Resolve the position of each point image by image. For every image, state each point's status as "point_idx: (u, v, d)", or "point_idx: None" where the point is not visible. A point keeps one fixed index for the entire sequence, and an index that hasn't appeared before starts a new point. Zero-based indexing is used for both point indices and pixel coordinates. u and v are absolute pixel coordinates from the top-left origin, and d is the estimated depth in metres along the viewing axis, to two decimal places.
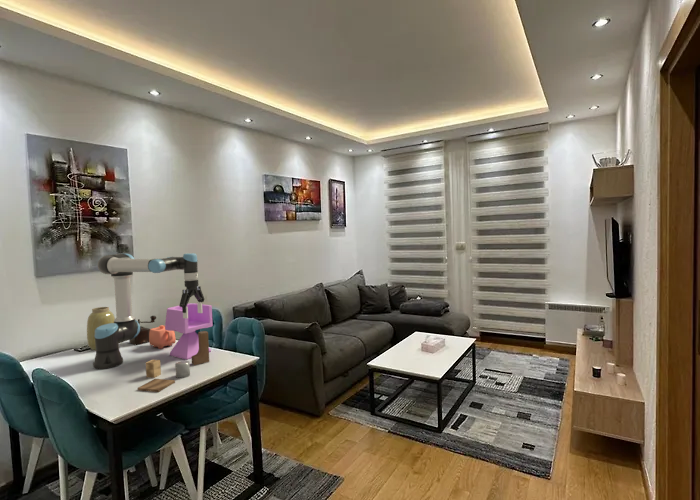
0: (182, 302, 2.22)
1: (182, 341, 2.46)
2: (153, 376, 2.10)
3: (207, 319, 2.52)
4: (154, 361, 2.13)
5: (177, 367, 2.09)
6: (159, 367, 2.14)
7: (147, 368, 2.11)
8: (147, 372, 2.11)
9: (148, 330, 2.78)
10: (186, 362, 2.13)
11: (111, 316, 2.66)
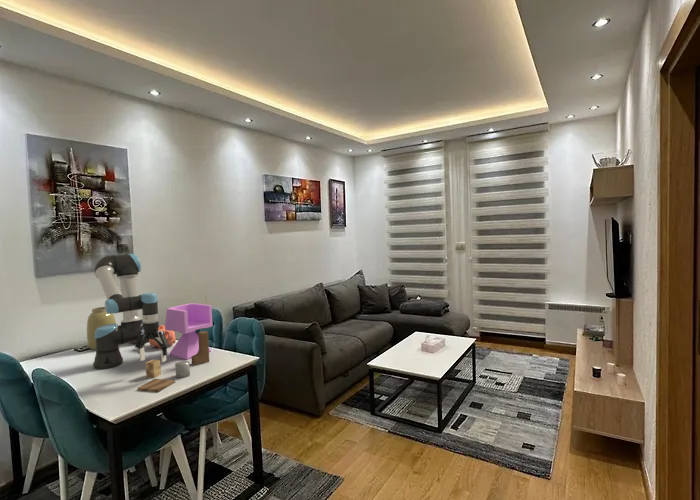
0: None
1: (182, 341, 2.46)
2: (153, 376, 2.10)
3: (207, 319, 2.52)
4: (154, 361, 2.13)
5: (177, 367, 2.09)
6: (159, 367, 2.14)
7: (147, 368, 2.11)
8: (147, 372, 2.11)
9: None
10: (186, 362, 2.13)
11: (111, 316, 2.66)
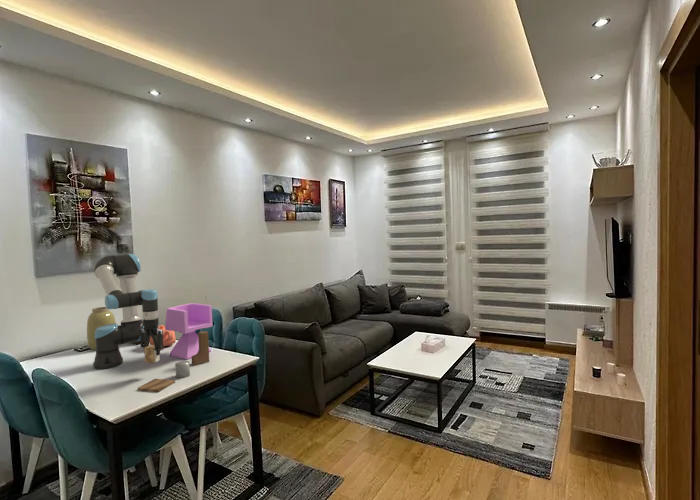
0: None
1: (182, 341, 2.46)
2: (152, 361, 2.10)
3: (207, 319, 2.52)
4: (153, 346, 2.12)
5: (177, 367, 2.09)
6: None
7: (146, 353, 2.11)
8: (146, 357, 2.11)
9: None
10: (186, 362, 2.13)
11: (111, 316, 2.66)
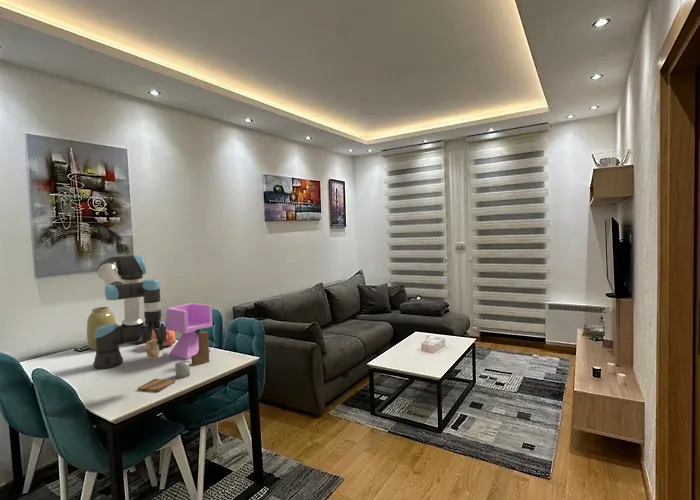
0: None
1: (182, 341, 2.46)
2: (154, 356, 1.95)
3: (207, 319, 2.52)
4: (155, 340, 1.97)
5: (177, 367, 2.09)
6: None
7: (148, 348, 1.95)
8: (148, 352, 1.96)
9: None
10: (186, 362, 2.13)
11: (111, 316, 2.66)
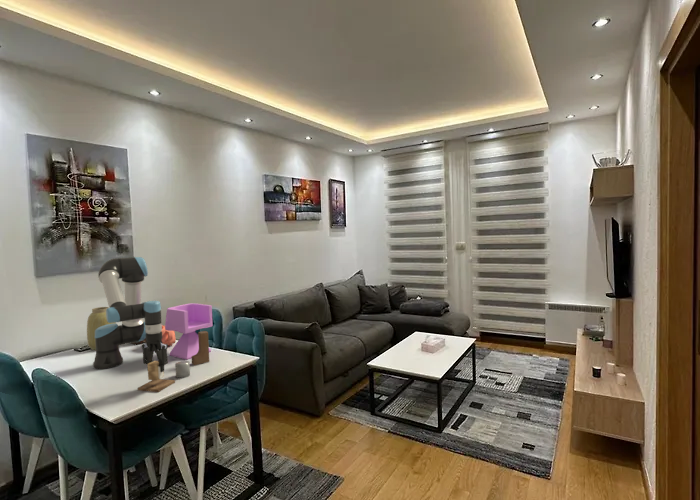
0: None
1: (182, 341, 2.46)
2: (155, 378, 1.95)
3: (207, 319, 2.52)
4: (157, 362, 1.98)
5: (177, 367, 2.09)
6: None
7: (149, 370, 1.96)
8: (149, 374, 1.96)
9: None
10: (186, 362, 2.13)
11: None
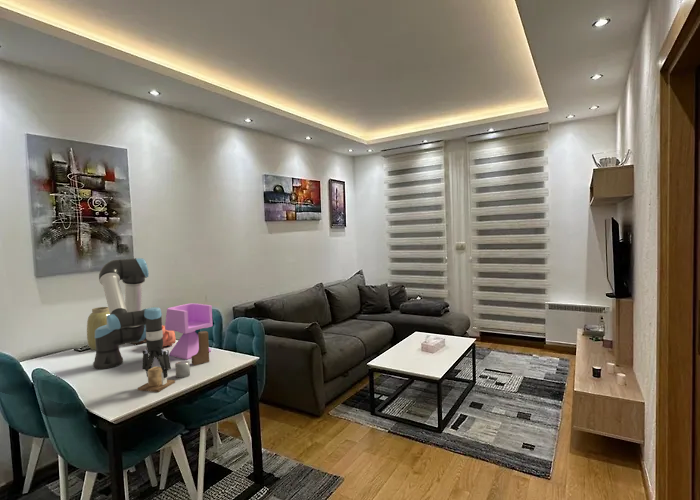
0: None
1: (182, 341, 2.46)
2: (156, 384, 1.96)
3: (207, 319, 2.52)
4: (157, 368, 1.98)
5: (177, 367, 2.09)
6: None
7: (149, 376, 1.96)
8: (149, 380, 1.96)
9: None
10: (186, 362, 2.13)
11: None
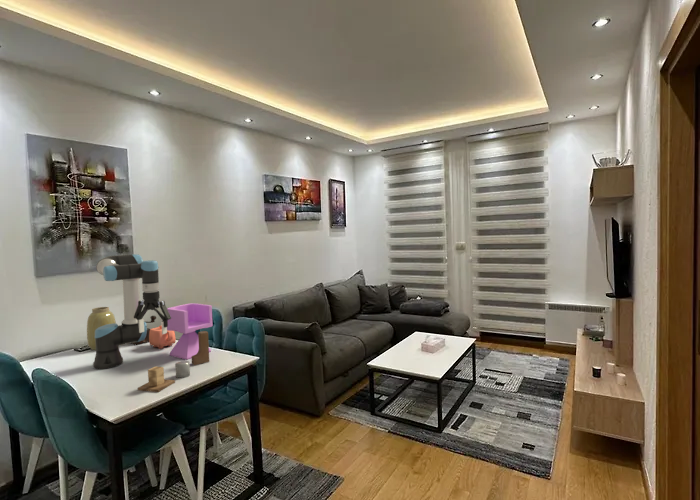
0: None
1: (182, 341, 2.46)
2: (156, 384, 1.96)
3: (207, 319, 2.52)
4: (157, 368, 1.98)
5: (177, 367, 2.09)
6: (162, 375, 1.99)
7: (149, 376, 1.96)
8: (149, 380, 1.96)
9: (148, 330, 2.78)
10: (186, 362, 2.13)
11: (111, 316, 2.66)
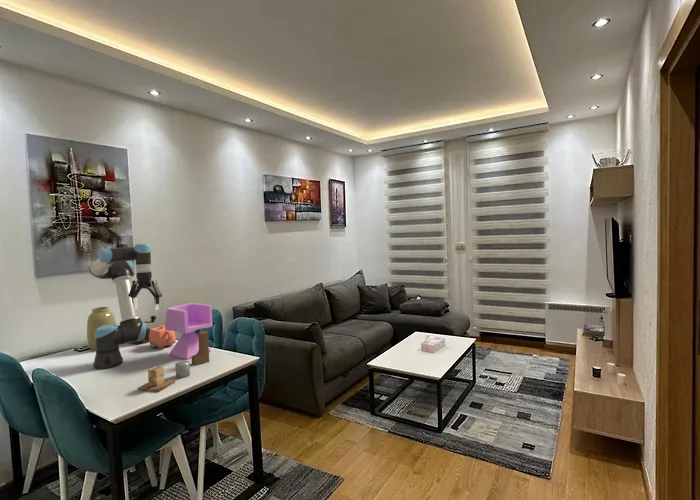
0: None
1: (182, 341, 2.46)
2: (156, 384, 1.96)
3: (207, 319, 2.52)
4: (157, 368, 1.98)
5: (177, 367, 2.09)
6: (162, 375, 1.99)
7: (149, 376, 1.96)
8: (149, 380, 1.96)
9: (148, 330, 2.78)
10: (186, 362, 2.13)
11: (111, 316, 2.66)
